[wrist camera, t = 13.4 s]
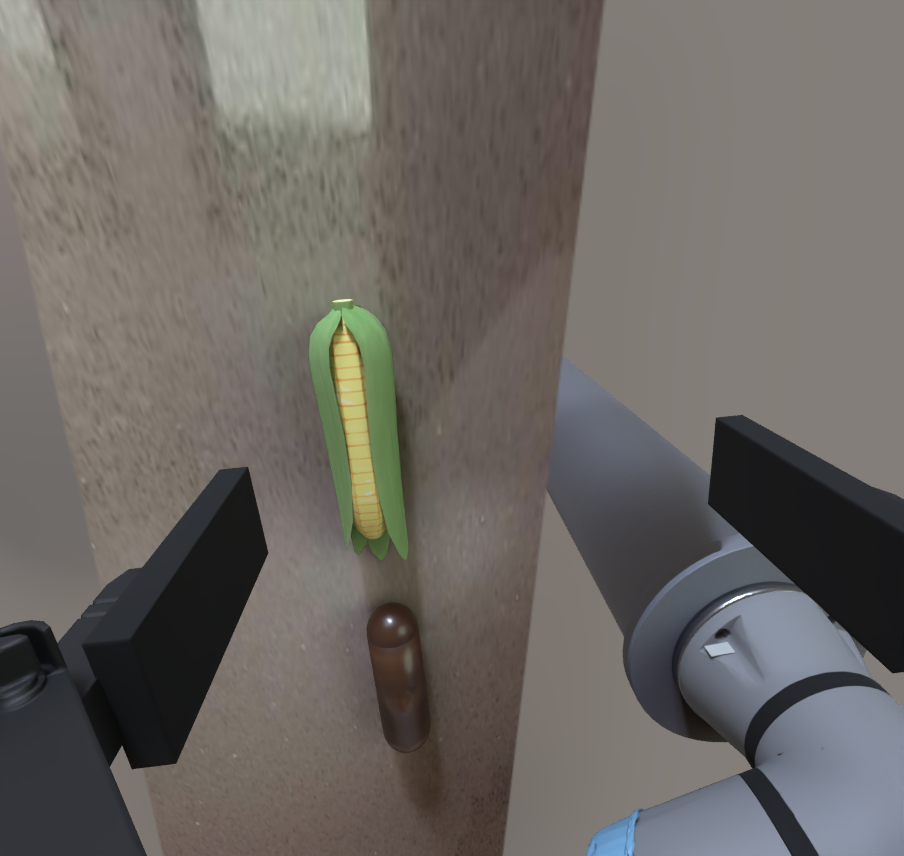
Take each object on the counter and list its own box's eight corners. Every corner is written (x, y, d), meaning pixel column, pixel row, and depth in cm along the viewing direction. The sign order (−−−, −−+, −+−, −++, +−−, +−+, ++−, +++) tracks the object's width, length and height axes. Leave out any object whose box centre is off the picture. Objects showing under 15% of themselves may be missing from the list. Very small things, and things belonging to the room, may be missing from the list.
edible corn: (387, 292, 35) (384, 301, 31) (415, 554, 42) (416, 591, 38) (307, 299, 35) (293, 308, 31) (348, 561, 42) (341, 599, 38)
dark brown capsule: (365, 594, 43) (361, 629, 39) (415, 589, 43) (415, 623, 40) (386, 725, 48) (385, 767, 44) (431, 719, 48) (433, 761, 44)
